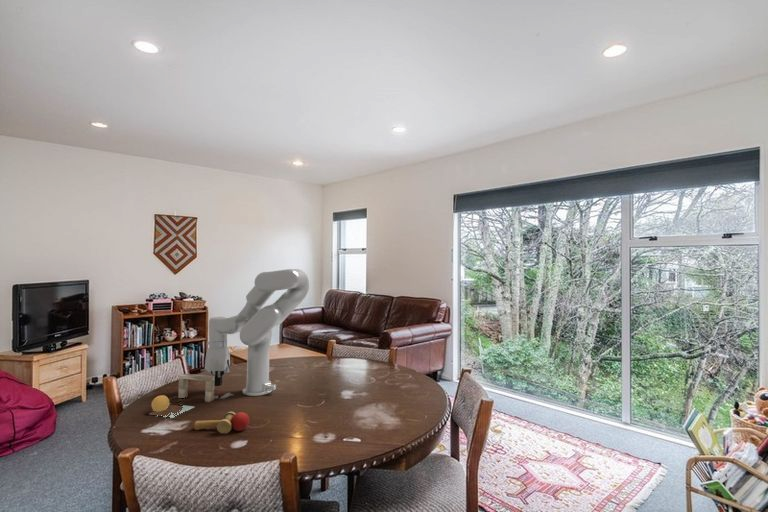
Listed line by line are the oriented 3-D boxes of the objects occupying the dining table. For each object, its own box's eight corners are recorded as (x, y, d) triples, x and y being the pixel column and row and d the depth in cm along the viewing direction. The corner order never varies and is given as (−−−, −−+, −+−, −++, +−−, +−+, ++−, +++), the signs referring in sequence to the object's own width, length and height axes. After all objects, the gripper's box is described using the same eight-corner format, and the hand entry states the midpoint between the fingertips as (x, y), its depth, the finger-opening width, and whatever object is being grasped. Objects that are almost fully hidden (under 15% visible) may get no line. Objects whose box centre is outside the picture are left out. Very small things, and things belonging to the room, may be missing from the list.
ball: (155, 410, 145) (166, 415, 149) (165, 395, 148) (175, 400, 152) (144, 406, 147) (155, 411, 151) (154, 391, 150) (165, 396, 155)
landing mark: (194, 407, 155) (194, 406, 155) (171, 418, 143) (171, 417, 143) (169, 404, 158) (169, 403, 158) (144, 414, 146) (144, 414, 146)
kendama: (190, 439, 129) (245, 432, 130) (190, 419, 131) (244, 412, 131) (201, 434, 137) (252, 427, 137) (200, 415, 138) (251, 408, 139)
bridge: (183, 396, 167) (184, 373, 167) (213, 399, 164) (214, 376, 164) (178, 398, 164) (178, 375, 165) (209, 402, 161) (209, 378, 161)
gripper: (198, 345, 175) (198, 387, 175) (227, 346, 172) (227, 388, 171) (209, 342, 183) (209, 382, 182) (237, 343, 179) (237, 383, 179)
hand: (218, 385), depth 177 cm, fingers closed
